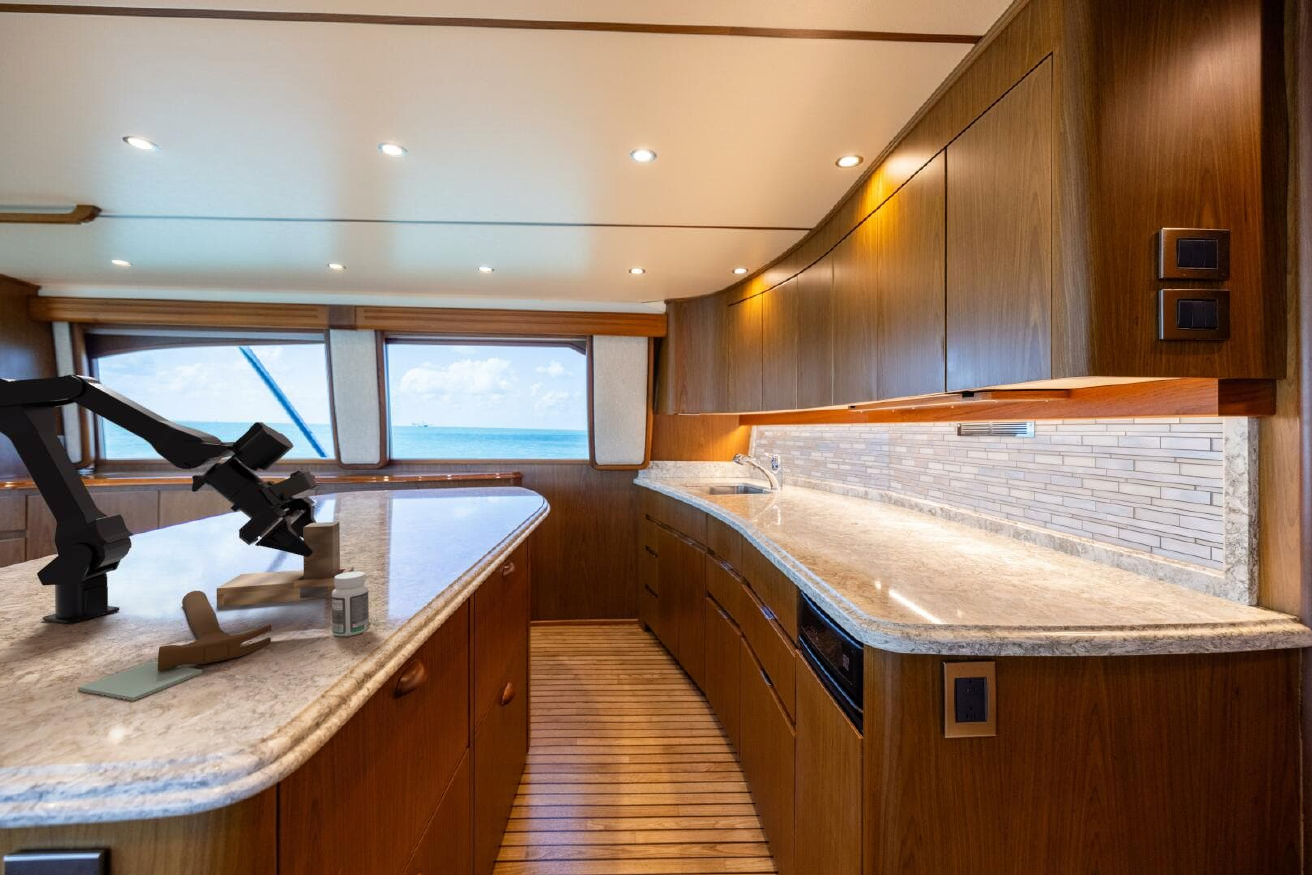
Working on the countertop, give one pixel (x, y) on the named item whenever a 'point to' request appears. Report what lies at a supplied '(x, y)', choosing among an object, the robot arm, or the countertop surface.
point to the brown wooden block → (322, 550)
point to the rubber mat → (139, 681)
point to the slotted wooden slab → (274, 588)
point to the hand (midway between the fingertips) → (319, 549)
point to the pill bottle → (350, 604)
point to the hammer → (207, 638)
